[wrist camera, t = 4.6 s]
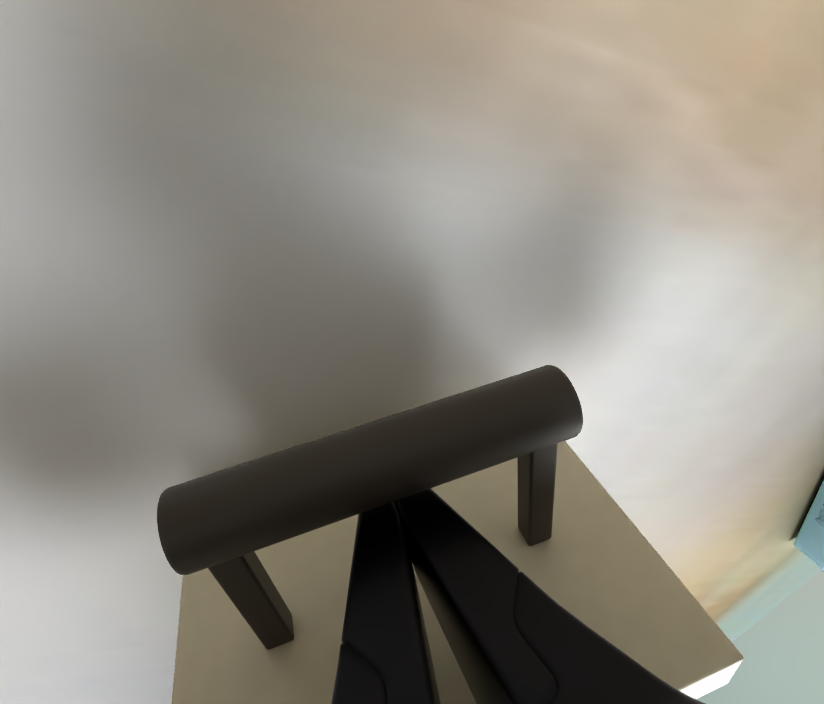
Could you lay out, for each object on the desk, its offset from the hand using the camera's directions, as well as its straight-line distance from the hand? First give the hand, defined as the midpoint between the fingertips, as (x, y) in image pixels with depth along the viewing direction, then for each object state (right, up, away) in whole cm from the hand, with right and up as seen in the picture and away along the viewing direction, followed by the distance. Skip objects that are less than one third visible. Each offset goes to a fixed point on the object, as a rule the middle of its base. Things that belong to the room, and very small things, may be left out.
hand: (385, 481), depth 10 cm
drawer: (0, -3, +7) cm, 7 cm away
